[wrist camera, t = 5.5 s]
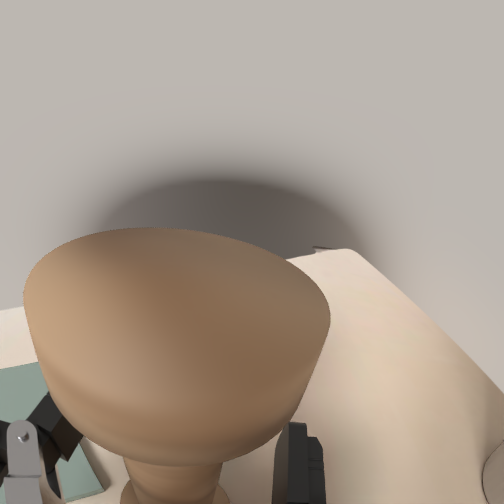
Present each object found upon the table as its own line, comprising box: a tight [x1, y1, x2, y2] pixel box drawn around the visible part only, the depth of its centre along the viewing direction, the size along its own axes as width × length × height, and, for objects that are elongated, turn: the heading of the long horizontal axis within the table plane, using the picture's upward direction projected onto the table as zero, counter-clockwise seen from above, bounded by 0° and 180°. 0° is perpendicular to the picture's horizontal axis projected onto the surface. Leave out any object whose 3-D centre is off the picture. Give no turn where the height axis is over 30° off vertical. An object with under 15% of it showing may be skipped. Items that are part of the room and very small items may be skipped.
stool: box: [23, 228, 330, 504], centre depth 9 cm, size 6×6×15 cm
